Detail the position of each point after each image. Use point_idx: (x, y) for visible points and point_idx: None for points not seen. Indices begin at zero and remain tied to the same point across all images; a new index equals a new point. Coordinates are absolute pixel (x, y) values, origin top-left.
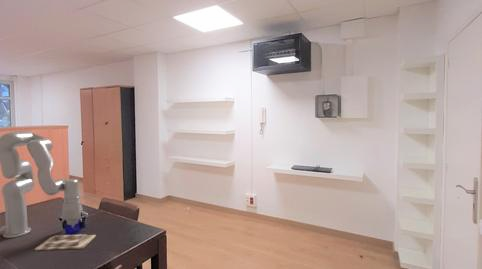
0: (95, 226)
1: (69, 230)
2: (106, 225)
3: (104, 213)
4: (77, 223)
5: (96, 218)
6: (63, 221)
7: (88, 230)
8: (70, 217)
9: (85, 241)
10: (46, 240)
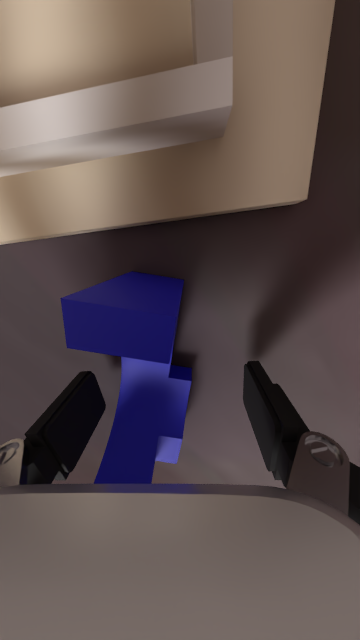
0: None
1: (109, 281)
2: (5, 431)
3: None
4: (171, 445)
5: None
6: (299, 455)
7: (54, 368)
8: (81, 610)
9: None
10: (326, 21)
